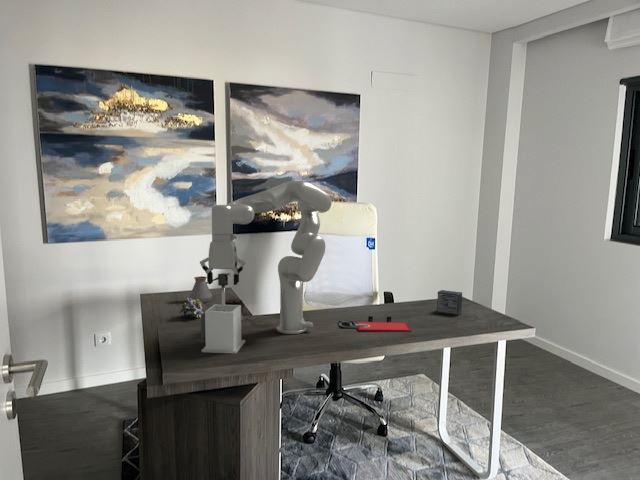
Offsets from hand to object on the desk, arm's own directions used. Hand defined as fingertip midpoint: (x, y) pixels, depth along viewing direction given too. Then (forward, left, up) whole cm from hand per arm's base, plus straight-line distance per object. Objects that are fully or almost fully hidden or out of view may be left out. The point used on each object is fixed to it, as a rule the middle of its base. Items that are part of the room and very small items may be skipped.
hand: (223, 283), depth 175 cm
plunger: (0, 0, -16) cm, 16 cm away
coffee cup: (+2, -20, -24) cm, 32 cm away
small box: (-94, -61, -25) cm, 115 cm away
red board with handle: (-57, -34, -25) cm, 71 cm away
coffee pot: (+28, -68, -25) cm, 78 cm away
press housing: (0, 0, -24) cm, 24 cm away
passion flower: (+27, -37, -25) cm, 52 cm away
